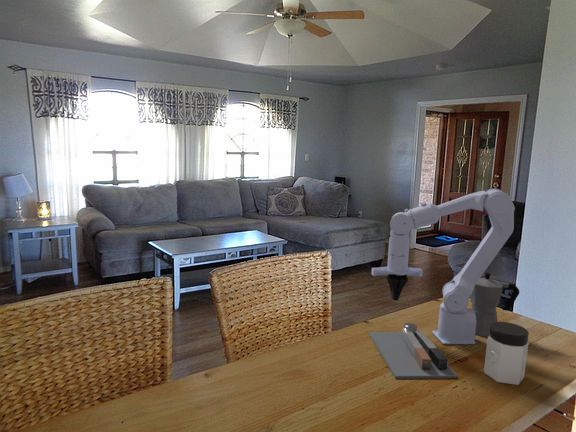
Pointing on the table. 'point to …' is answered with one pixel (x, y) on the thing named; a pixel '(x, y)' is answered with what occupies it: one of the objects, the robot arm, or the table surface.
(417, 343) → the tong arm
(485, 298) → the coffeepot
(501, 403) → the table surface
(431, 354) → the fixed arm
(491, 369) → the jar
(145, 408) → the table surface
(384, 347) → the slate mat
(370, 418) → the table surface
